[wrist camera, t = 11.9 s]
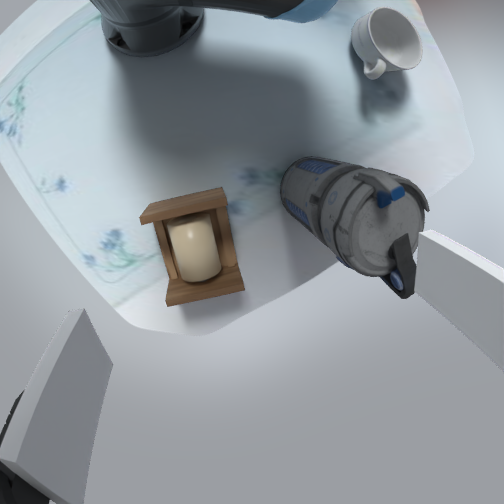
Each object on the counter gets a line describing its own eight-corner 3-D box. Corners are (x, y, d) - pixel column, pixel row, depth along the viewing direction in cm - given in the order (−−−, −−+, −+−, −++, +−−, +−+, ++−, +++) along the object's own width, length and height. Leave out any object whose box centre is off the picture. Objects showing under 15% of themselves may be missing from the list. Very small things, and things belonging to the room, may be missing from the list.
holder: (149, 203, 42) (139, 217, 34) (221, 187, 43) (226, 197, 35) (171, 280, 47) (167, 306, 40) (237, 266, 48) (244, 290, 40)
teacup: (364, 10, 34) (388, -4, 27) (405, 53, 38) (434, 46, 31) (320, 53, 37) (343, 39, 30) (368, 99, 41) (396, 95, 34)
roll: (178, 213, 43) (158, 227, 38) (215, 209, 41) (199, 223, 36) (191, 263, 46) (174, 282, 41) (226, 262, 45) (213, 282, 39)
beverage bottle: (299, 242, 48) (378, 333, 25) (265, 169, 43) (339, 206, 20) (351, 214, 48) (455, 279, 25) (323, 141, 43) (436, 155, 20)
